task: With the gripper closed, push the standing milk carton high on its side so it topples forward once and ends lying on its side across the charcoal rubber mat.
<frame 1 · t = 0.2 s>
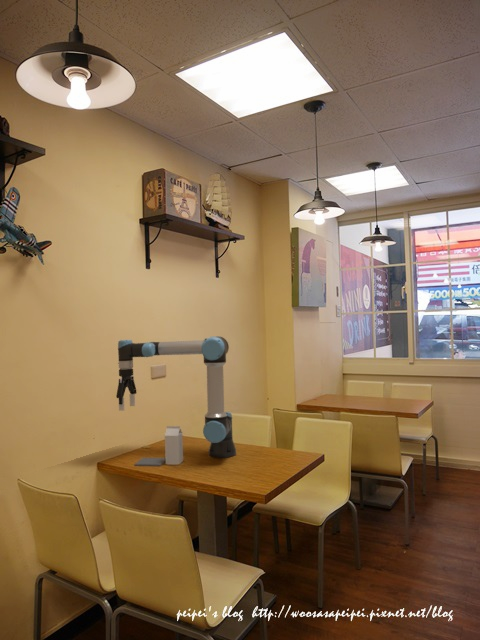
hand: (127, 408, 247), 28 cm above the table, fingers open, 13 cm apart
mat: (151, 462, 241), on the table
milk carton: (174, 463, 239), on the table
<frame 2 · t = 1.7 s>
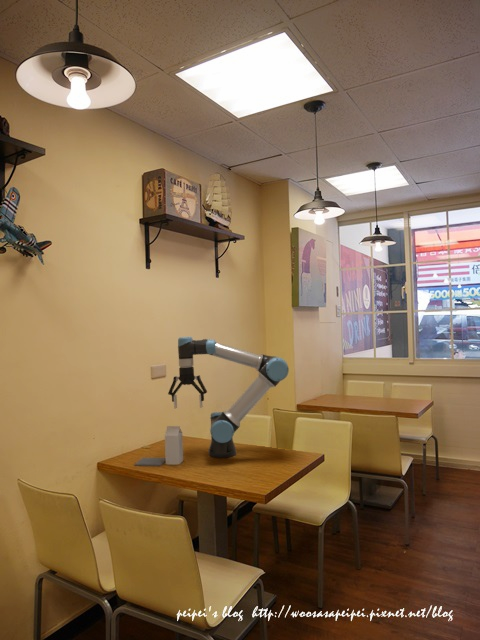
hand: (188, 407, 239), 28 cm above the table, fingers open, 13 cm apart
nothing on the table moved.
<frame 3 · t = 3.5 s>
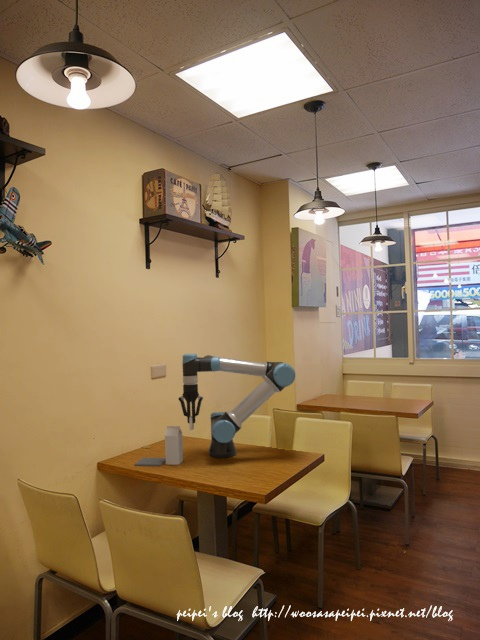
hand: (191, 429, 238), 17 cm above the table, fingers closed
nothing on the table moved.
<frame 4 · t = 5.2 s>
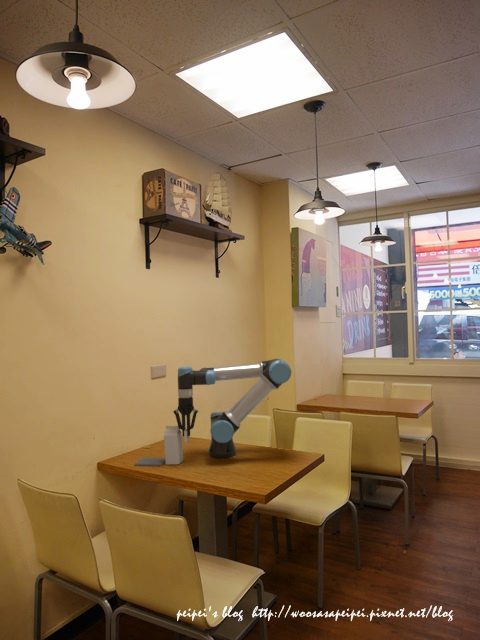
hand: (186, 442, 238), 11 cm above the table, fingers closed
milk carton: (174, 463, 239), on the table, touching hand
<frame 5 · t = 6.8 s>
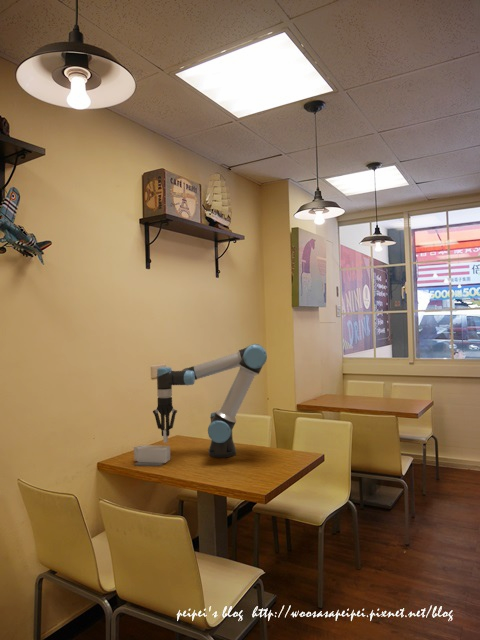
hand: (165, 442, 240), 11 cm above the table, fingers closed
milk carton: (168, 454, 240), point 4 cm above the table, touching mat
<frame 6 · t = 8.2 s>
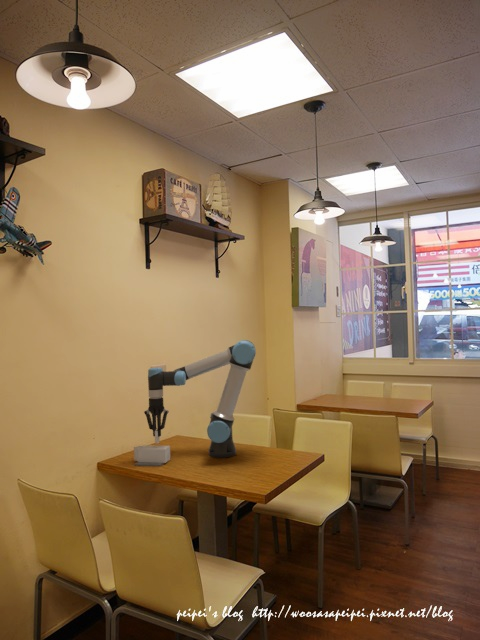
hand: (157, 442, 241), 10 cm above the table, fingers closed
nothing on the table moved.
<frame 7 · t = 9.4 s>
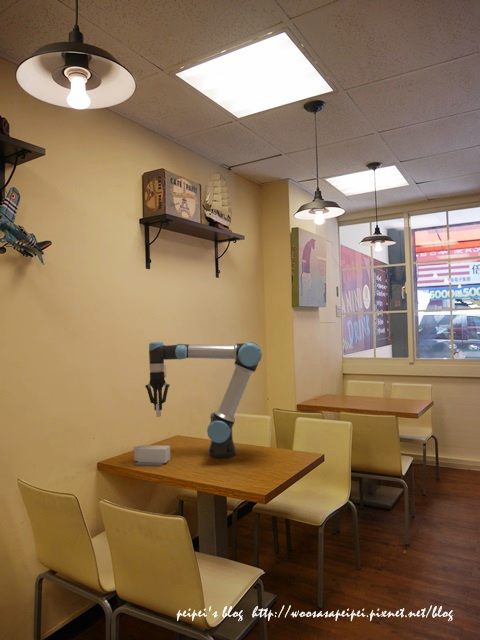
hand: (158, 416, 241), 24 cm above the table, fingers closed
nothing on the table moved.
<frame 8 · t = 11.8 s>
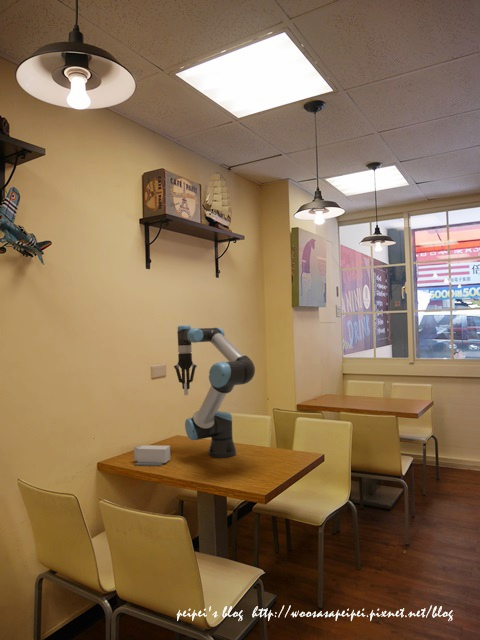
hand: (186, 394, 258), 32 cm above the table, fingers closed
nothing on the table moved.
at the end: milk carton tilted 90°; milk carton touching mat; milk carton inside the target area (6.8 cm from its centre), point 4.4 cm above the table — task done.
